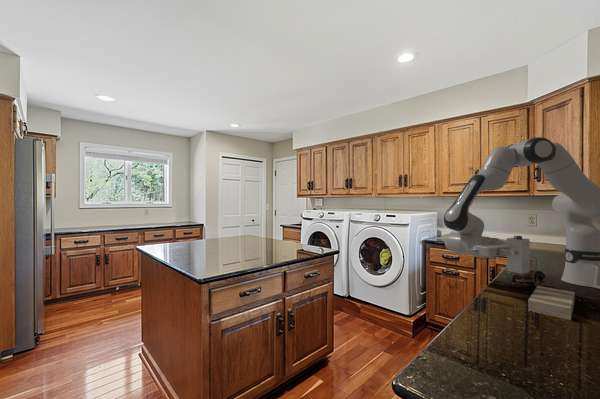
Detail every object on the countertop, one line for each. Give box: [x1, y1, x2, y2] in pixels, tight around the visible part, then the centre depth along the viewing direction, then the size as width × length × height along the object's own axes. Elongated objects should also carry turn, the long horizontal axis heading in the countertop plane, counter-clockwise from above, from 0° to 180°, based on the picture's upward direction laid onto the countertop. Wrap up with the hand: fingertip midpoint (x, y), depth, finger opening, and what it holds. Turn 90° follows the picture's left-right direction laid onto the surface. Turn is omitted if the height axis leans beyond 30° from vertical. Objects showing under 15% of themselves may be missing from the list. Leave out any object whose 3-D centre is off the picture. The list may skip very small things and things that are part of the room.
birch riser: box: [527, 286, 575, 321], centre depth 97 cm, size 22×10×4 cm, turn 135°
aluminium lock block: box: [506, 235, 531, 275], centre depth 107 cm, size 5×5×13 cm
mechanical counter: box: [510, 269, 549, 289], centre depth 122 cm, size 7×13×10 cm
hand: (520, 252), depth 106 cm, fingers closed on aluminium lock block, 5 cm apart
